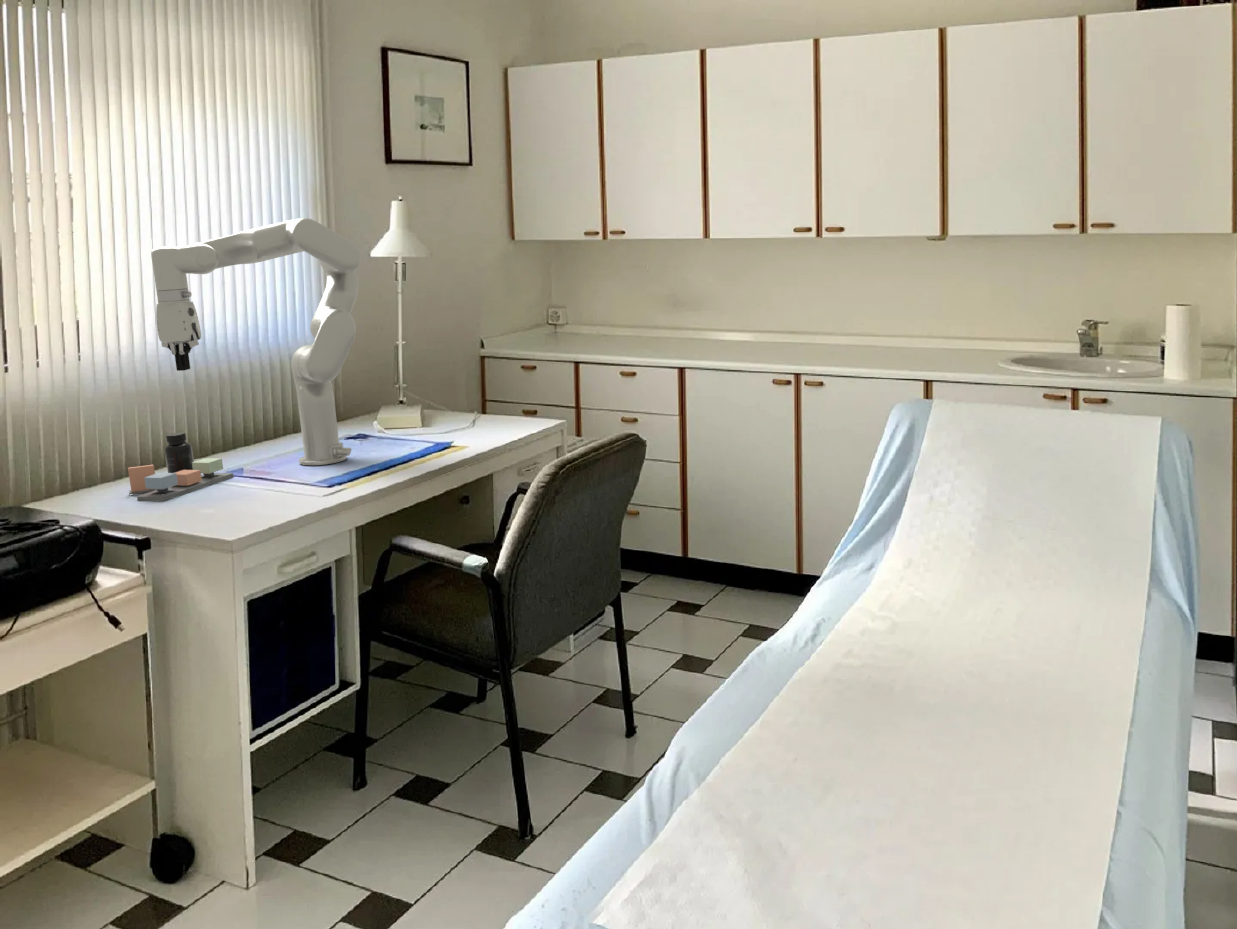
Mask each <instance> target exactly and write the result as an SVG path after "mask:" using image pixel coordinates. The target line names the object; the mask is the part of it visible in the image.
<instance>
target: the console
mask: <svg viewBox="0 0 1237 929" xmlns="http://www.w3.org/2000/svg"><path fill="white" fill-rule="evenodd" d="M234 476H235V475H234V472H214V475H211V476H204V475H203V474H201V479H202V481H200V482H197V483H194V484H192V485H190V486H180V485H174V486H171V487H168V490H167V491H162V492H157V490H155V491H152V492H149V493H146V494H139V495H136V500H137V501H139V500H144V501H146V502H147V501H148V502H165V501H168V500H170V499H175V498H177V497H180V496H183V495H186V494H189V493H191V492H195V491H197V490H200V489H202V488H203V489H204V488H206V487H208V486H209V487H210V486H212V485H215V484H217V483H220V482H223V481H226V480H228V479H232V478H234Z"/></svg>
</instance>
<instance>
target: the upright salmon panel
mask: <svg viewBox="0 0 1237 929" xmlns="http://www.w3.org/2000/svg"><path fill="white" fill-rule="evenodd" d="M127 471H128V472H127V473H128V477H129V485H130V490H129V492H128V493H129V494H139V495H143V494H146V493H149V492H152V491H155V490H157V489H146V485H145V477H148V476H151V475H154V474H156V472H155V471H156V470H155V466H154V464H149V465H148V464H147V465H141V466H139V465H138V466H131V467H127Z"/></svg>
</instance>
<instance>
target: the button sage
mask: <svg viewBox="0 0 1237 929" xmlns="http://www.w3.org/2000/svg"><path fill="white" fill-rule="evenodd" d="M223 466H224V465H223V458H214V457H213V458H212V457H211V458H209V457H207V458H205V457H204V458H202V459H200V460H196V461H195V460H194V462H192V467H193V470H200V472H201V474H202V475H204V476H211V475H214V473H217V472H219V471H222V470H224V467H223Z"/></svg>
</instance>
